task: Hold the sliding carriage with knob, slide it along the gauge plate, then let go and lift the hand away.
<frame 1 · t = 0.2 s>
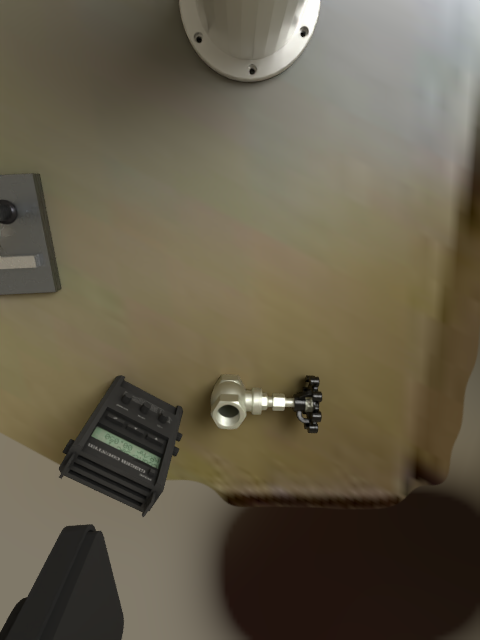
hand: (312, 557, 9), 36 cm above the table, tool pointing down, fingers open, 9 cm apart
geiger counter: (148, 399, 49), on the table
valve: (261, 386, 49), on the table
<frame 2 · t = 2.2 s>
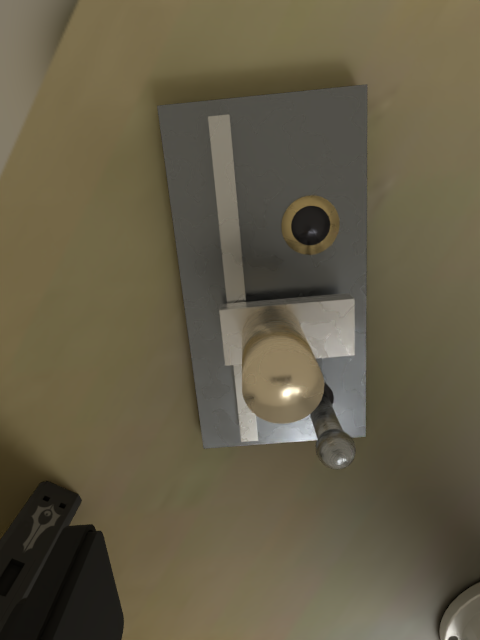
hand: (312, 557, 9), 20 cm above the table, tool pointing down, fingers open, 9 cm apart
gauge plate: (272, 286, 27), on the table
sliding carriage with knob: (293, 347, 22), point 7 cm above the table, slide at 0.0 cm
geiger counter: (48, 528, 34), on the table
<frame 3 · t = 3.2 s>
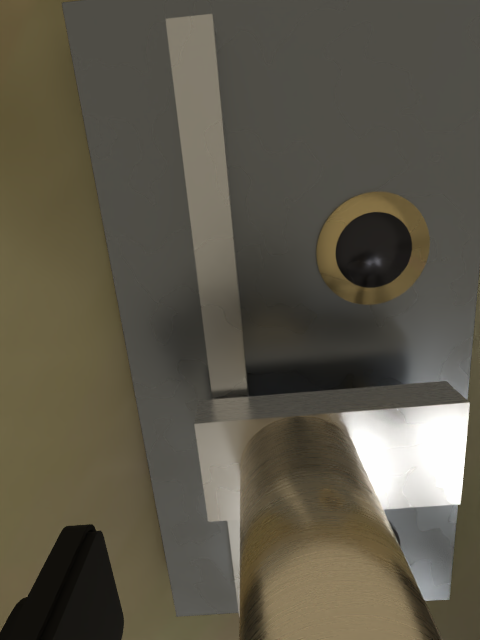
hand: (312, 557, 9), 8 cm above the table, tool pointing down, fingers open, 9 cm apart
gauge plate: (294, 353, 16), on the table
sliding carriage with knob: (353, 528, 10), point 7 cm above the table, slide at 0.0 cm
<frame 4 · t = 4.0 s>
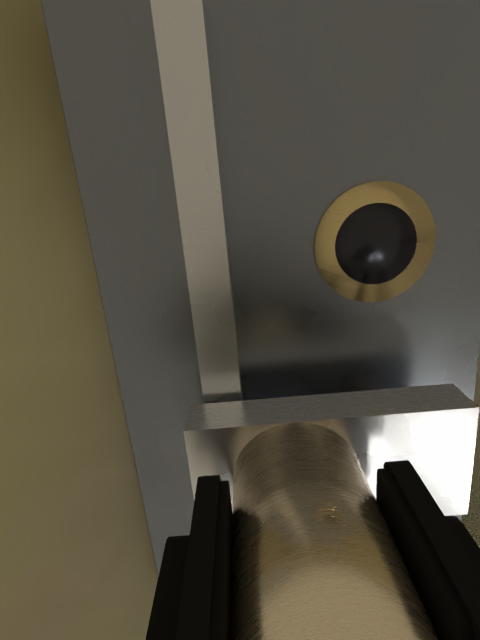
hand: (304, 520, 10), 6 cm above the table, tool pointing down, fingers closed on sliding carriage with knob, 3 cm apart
gauge plate: (291, 353, 15), on the table
sliding carriage with knob: (355, 546, 9), point 7 cm above the table, slide at 0.0 cm, touching gripper
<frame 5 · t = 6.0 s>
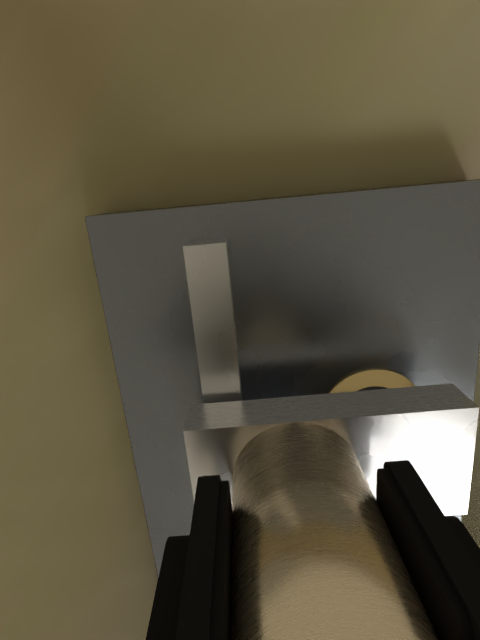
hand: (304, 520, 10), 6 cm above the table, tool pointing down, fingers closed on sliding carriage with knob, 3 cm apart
gauge plate: (298, 485, 17), on the table
sliding carriage with knob: (354, 546, 9), point 7 cm above the table, slide at 5.9 cm, touching gripper
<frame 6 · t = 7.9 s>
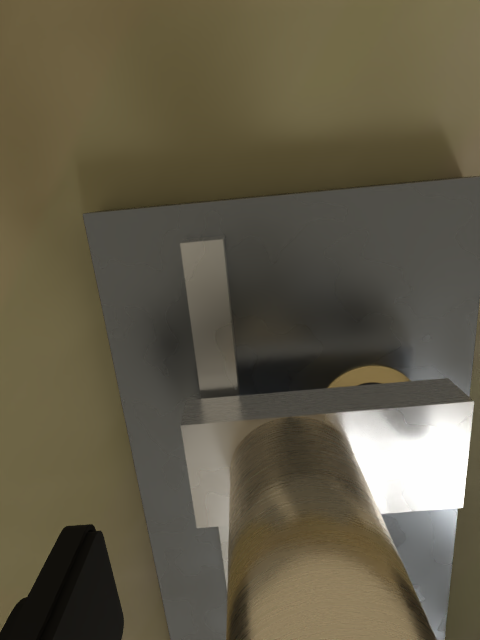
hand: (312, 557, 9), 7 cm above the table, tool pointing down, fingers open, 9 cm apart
gauge plate: (295, 481, 17), on the table
sliding carriage with knob: (350, 538, 9), point 7 cm above the table, slide at 6.0 cm
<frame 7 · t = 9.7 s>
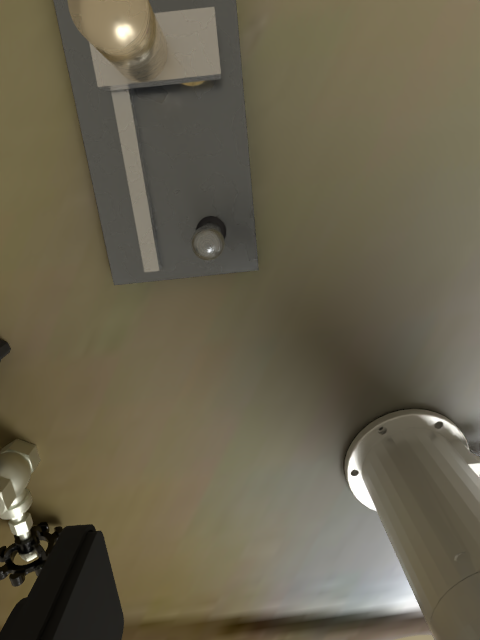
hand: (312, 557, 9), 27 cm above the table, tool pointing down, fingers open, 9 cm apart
gauge plate: (166, 126, 30), on the table
sliding carriage with knob: (147, 34, 23), point 7 cm above the table, slide at 6.0 cm
valve: (33, 483, 42), on the table
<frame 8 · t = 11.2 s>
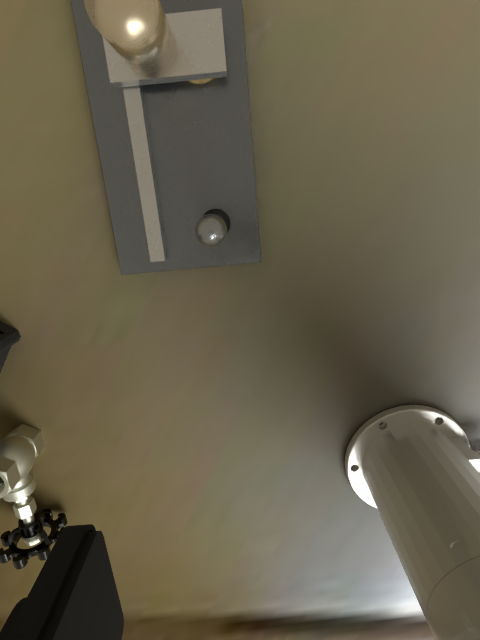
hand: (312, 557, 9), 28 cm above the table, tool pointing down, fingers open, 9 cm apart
gauge plate: (174, 122, 32), on the table
sliding carriage with knob: (157, 32, 24), point 7 cm above the table, slide at 6.0 cm
valve: (37, 469, 42), on the table
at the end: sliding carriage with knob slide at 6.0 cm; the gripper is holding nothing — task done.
